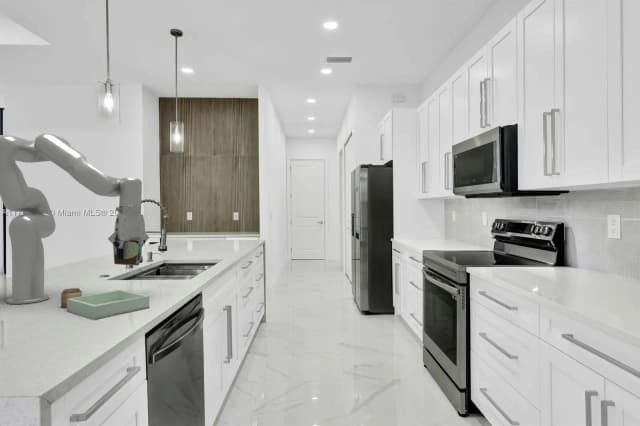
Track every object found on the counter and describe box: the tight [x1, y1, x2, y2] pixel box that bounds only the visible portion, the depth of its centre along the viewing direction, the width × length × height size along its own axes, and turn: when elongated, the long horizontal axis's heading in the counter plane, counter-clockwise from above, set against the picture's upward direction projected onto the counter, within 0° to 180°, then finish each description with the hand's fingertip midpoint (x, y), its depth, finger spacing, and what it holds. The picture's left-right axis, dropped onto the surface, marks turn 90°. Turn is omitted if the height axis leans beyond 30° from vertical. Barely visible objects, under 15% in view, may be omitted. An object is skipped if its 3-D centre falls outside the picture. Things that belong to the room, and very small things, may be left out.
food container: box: [112, 238, 145, 266], centre depth 151 cm, size 12×6×10 cm, turn 78°
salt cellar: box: [60, 287, 83, 309], centre depth 137 cm, size 6×6×6 cm
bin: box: [66, 289, 150, 321], centre depth 133 cm, size 18×18×4 cm
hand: (128, 257), depth 150 cm, fingers closed on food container, 6 cm apart
